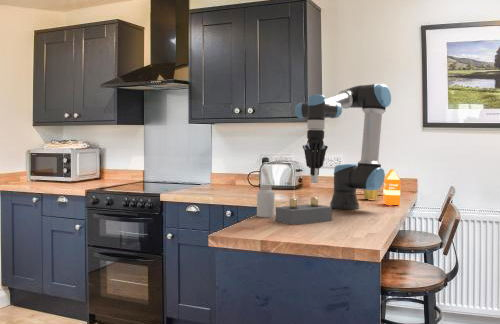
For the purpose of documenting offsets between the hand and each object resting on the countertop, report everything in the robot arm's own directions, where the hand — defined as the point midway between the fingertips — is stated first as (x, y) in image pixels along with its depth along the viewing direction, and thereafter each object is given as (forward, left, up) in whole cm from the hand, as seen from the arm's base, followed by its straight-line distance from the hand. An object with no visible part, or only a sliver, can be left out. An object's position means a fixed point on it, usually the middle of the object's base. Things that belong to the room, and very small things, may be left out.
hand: (314, 182), depth 216 cm
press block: (+6, 0, -17) cm, 17 cm away
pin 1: (+12, 0, -12) cm, 17 cm away
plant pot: (-78, -39, -17) cm, 89 cm away
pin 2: (0, 0, -12) cm, 12 cm away
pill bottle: (+14, -18, -17) cm, 28 cm away
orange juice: (-72, -18, -17) cm, 76 cm away
